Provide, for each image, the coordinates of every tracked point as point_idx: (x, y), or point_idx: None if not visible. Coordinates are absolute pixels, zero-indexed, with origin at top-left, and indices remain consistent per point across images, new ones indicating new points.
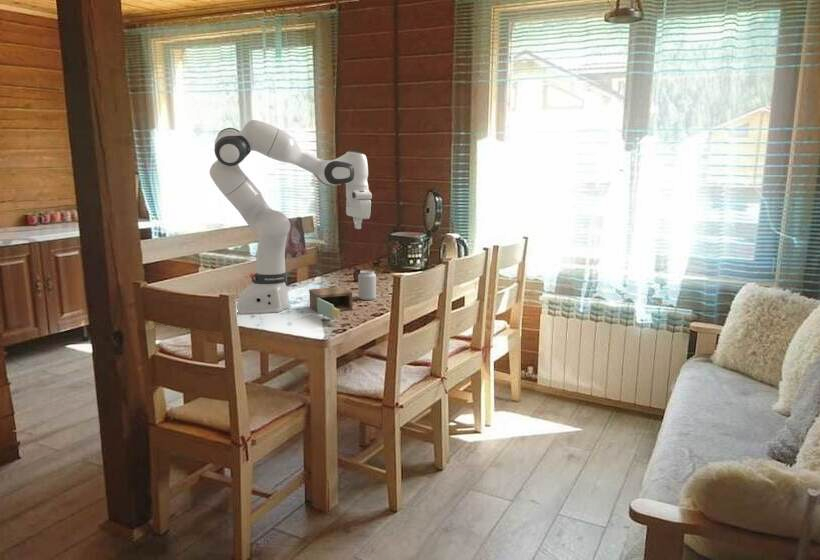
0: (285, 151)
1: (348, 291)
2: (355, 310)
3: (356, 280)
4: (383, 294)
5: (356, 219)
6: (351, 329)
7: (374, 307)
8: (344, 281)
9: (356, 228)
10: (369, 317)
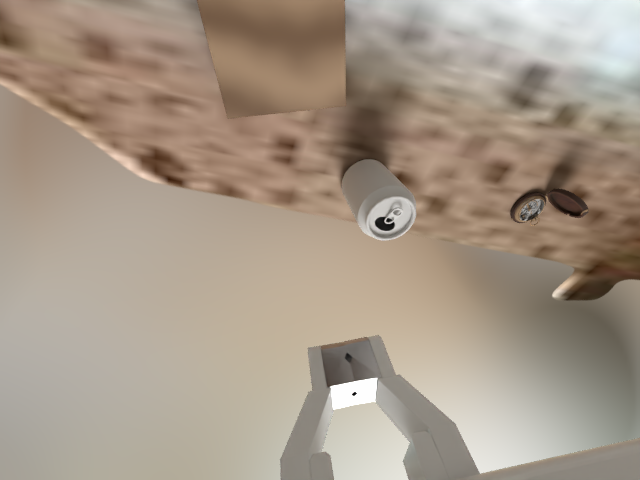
0: None
1: (249, 108)
2: None
3: (549, 193)
4: None
5: (316, 468)
6: None
7: (257, 178)
8: (598, 165)
9: (332, 344)
10: (126, 138)
